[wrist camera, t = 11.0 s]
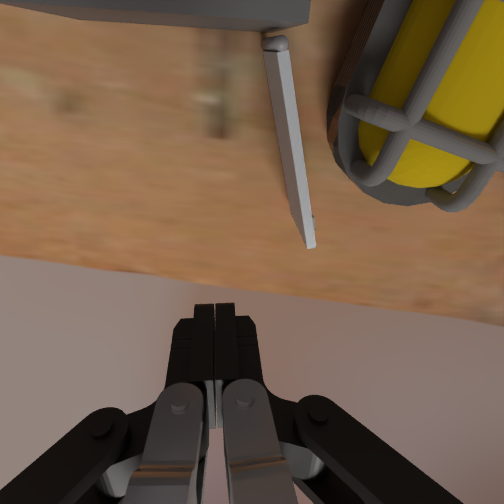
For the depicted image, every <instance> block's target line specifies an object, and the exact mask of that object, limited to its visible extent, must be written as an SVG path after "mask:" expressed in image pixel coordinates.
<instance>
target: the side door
mask: <svg viewBox="0 0 504 504" xmlns="http://www.w3.org/2000/svg"><path fill="white" fill-rule="evenodd" d="M288 44H289V41H288V38H287V37H286V36H284V35H279V36H274V37H269V38H264V39H263V40H262V42H261V47H262V49H263V50H267V51H263V56H264V62H265V67H266V73H267V79H268V85H269V91H270V96H271V102H272V108H273V114H274V120H275V125H276V131H277V137H278V143H279V149H280V154H281V160H282V166H283V172H284V177H285V183H286V189H287V195H288V201H289V206H290V212H291V215H292V217H293V219H294V221H295V223H296V226H297V228H298V230H299V232H300V234H301V236H302V239H303V241H304V243H305V245H306V247H307V249H311V248H315V247H316V242H315V235H314V230H316V229H315V222H314V217H313V215H312V213H311V206H310V199H309V192H308V184H307V177H306V170H305V163H304V156H303V148H302V141H301V134H300V127H299V120H298V112H297V105H296V98H295V91H294V84H293V76H292V69H291V62H290V55H289V50H286V49H287V47H288Z"/></svg>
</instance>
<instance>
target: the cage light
mask: <svg viewBox="0 0 504 504" xmlns="http://www.w3.org/2000/svg"><path fill="white" fill-rule="evenodd" d="M327 137H328V143H329V145H330V148H331V151H332V154H333V156H334V159H335V162H336V163H337V165H338V166H339V167H340V168H341V169H342V170H343V172H344V173H345V174H346V175H347V176H348V177H349V179H350V180H351V181H352V182H353V183H354V184H355V185H356V186H357V187H358V188H360V189H361V190H362V191H363V192H364V193H366V194H368V195H370V196H371V197H373V198H375V199H377V200H379V201H381V202H383V203H388V204H395V205H402V206H411V205H417V204H423V203H428V202H432V203H433V204H434V205H436V206H437V207H439V208H440V209H442V210H444V211H446V212H458V211H461V210H463V209H466V208H467V207H468V206H470V205H471V204H472V203H473V202H474V201H475V200H476V199H477V197H478V196H479V195H480V193H481V192H482V190H483V189H484V187H485V186H486V184H487V183H488V181H489V180H490V179H491V177H492V176H493V174H494V173H495V171H499V172H502V173H504V0H368V2H367V5H366V7H365V10H364V12H363V14H362V17H361V19H360V22H359V24H358V27H357V29H356V32H355V34H354V37H353V39H352V42H351V44H350V47H349V49H348V51H347V54H346V56H345V59H344V61H343V64H342V66H341V69H340V71H339V74H338V76H337V79H336V81H335V83H334V87H333V91H332V95H331V99H330V102H329V106H328V110H327ZM457 190H458V191H457ZM455 191H457V192H456V193H454V194H452V193H453V192H455Z"/></svg>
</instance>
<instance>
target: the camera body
mask: <svg viewBox="0 0 504 504" xmlns="http://www.w3.org/2000/svg"><path fill="white" fill-rule="evenodd" d="M310 1H311V0H0V3H1V4H5V5H10V6H15V7H20V8H25V9H30V10H35V11H39V12H44V13H49V14H54V15H59V16H64V17H69V18H73V19H78V20H91V21H106V22H121V23H136V24H151V25H166V26H181V27H196V28H211V29H226V30H241V31H256V32H271V33H272V32H276V31H280V30H284V29H287V28H291V27H295V26H299V25H302V24H306V23H308V19H309V10H310Z"/></svg>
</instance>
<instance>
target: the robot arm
mask: <svg viewBox="0 0 504 504" xmlns="http://www.w3.org/2000/svg"><path fill="white" fill-rule="evenodd" d="M215 305H216V310H215V313H216V314H215V313H214V304H195V307H194V318H186V319H180V321H179V322H178V323H177V325H176V326H175V328H174V330H173V336H172V344H171V351H170V357H169V363H168V370H167V376H166V383H165V388H164V390H163V391H162V392H161V394H160V395H159V397H158V398H157V400H156V401H155V402H154V403H152V404H151V405H149V406H148V407H146V408H143V409H141V410H138V411H135V412H133V413H130V414H127V415H126V414H125V413H124V412H123V411H122V410H120V409H118V408H113V407H107V408H102V409H99V410H96V411H94V412H93V413H91V414H89V415H88V416H87V417H86V418H85V419H83V420H82V421H81V422H80V423H79V424H77V425H76V426H75V427H74V428H73V429H72V430H70V431H69V432H68V433H67V434H66V435H64V436H63V437H62V438H61V439H60V440H59V441H57V443H55V444H54V445H53V446H52V447H50V448H49V449H48V450H47V451H46V452H45V453H44V454H42V455H41V456H40V457H39V458H37V459H36V460H35V461H34V462H33V463H32V464H31V465H29V466H28V467H27V468H26V469H25V470H23V471H22V472H21V473H20V474H19V475H18V476H16V477H15V478H14V479H13V480H12V481H11V482H9V483H8V484H7V485H6V486H5V487H3V488H2V489H1V490H0V504H203V496H204V485H205V476H206V465H207V455H208V454H207V453H208V452H207V450H208V447H209V429H215V428H216V404H217V423H218V428H223V434H224V435H223V436H224V456H225V467H226V478H227V488H228V498H229V504H298V501H297V496H296V493H295V488H294V484H293V482H294V483H295V484H296V485H297V486H298V487H299V488H300V490H301V491H302V492H303V493H304V494H305V495H306V496H307V497H308V498H309V499H310V500H311V501H312V502H313V503H314V504H463V503H462V502H461V501H460V500H458V499H457V498H456V497H454V496H453V495H452V494H451V493H449V492H448V491H447V490H445V489H444V488H443V487H442V486H440V485H439V484H438V483H437V482H435V481H434V480H433V479H431V478H430V477H429V476H428V475H426V474H425V473H424V472H422V471H421V470H420V469H419V468H417V467H416V466H415V465H413V464H412V463H411V462H410V461H408V460H407V459H406V458H405V457H403V456H402V455H401V454H399V453H398V452H397V451H395V450H394V449H393V448H392V447H390V446H389V445H388V444H387V443H385V442H384V441H383V440H381V439H380V438H379V437H378V436H376V435H375V434H374V433H373V432H371V431H370V430H369V429H367V428H366V427H365V426H364V425H362V424H361V423H360V422H358V421H357V420H356V419H354V418H353V417H352V416H351V415H349V414H348V413H347V412H346V411H344V410H343V409H342V408H340V407H339V406H338V405H337V404H335V403H334V402H333V401H331V400H330V399H328V398H326V397H324V396H320V395H309V396H306V397H304V398H302V399H301V400H300V401H299V402H298V403H296V402H292V401H288V400H284V399H281V398H279V397H277V396H275V395H273V394H272V393H271V392H270V391H269V390H268V389H267V387H266V386H265V384H264V381H263V376H262V369H261V362H260V354H259V348H258V340H257V333H256V326H255V324H254V322H253V321H252V320H251V318H250V317H249V316H235V305H234V303H216V304H215ZM215 319H216V320H215Z"/></svg>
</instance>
